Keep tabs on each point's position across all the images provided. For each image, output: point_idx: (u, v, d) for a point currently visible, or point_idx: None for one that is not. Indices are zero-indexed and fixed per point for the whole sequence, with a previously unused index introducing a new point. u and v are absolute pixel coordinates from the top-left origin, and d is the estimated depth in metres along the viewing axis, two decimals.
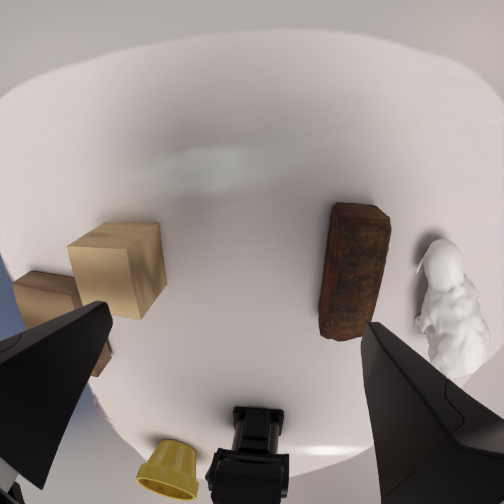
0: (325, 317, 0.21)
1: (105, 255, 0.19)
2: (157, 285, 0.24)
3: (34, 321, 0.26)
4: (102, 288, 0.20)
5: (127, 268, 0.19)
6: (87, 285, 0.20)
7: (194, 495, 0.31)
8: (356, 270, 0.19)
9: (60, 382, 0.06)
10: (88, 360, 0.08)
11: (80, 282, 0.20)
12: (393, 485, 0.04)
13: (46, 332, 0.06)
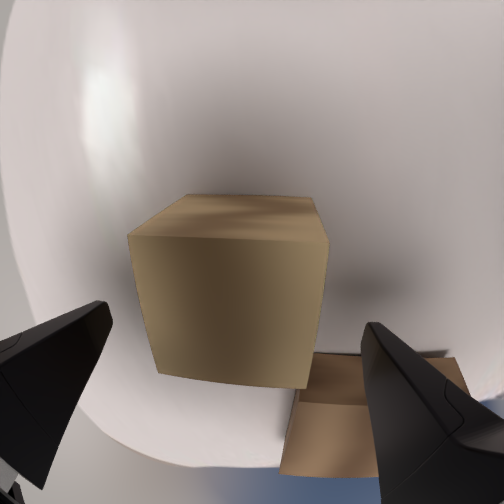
0: None
1: (150, 291, 0.09)
2: (292, 206, 0.11)
3: (344, 466, 0.16)
4: (240, 328, 0.09)
5: (170, 241, 0.08)
6: (238, 362, 0.10)
7: None
8: None
9: (60, 382, 0.06)
10: (88, 360, 0.08)
11: (233, 375, 0.10)
12: (393, 485, 0.04)
13: (46, 332, 0.06)
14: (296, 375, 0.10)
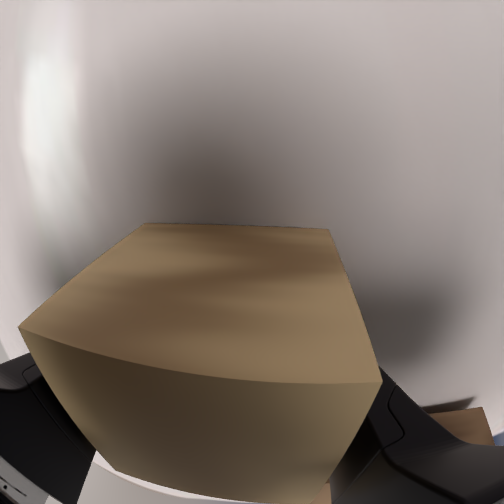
0: None
1: (72, 403, 0.04)
2: (301, 255, 0.07)
3: None
4: (211, 465, 0.05)
5: (73, 352, 0.04)
6: (215, 485, 0.05)
7: None
8: None
9: None
10: None
11: (210, 492, 0.06)
12: (339, 492, 0.05)
13: None
14: (297, 497, 0.05)
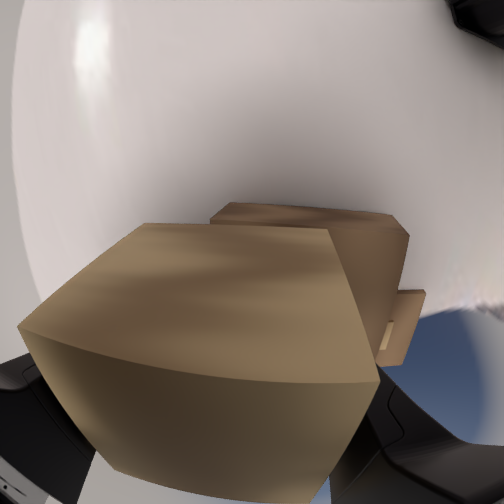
0: None
1: (72, 403, 0.04)
2: (299, 254, 0.07)
3: None
4: (210, 464, 0.05)
5: (72, 352, 0.04)
6: (213, 485, 0.05)
7: None
8: None
9: None
10: None
11: (209, 492, 0.06)
12: (339, 493, 0.05)
13: None
14: (296, 497, 0.05)
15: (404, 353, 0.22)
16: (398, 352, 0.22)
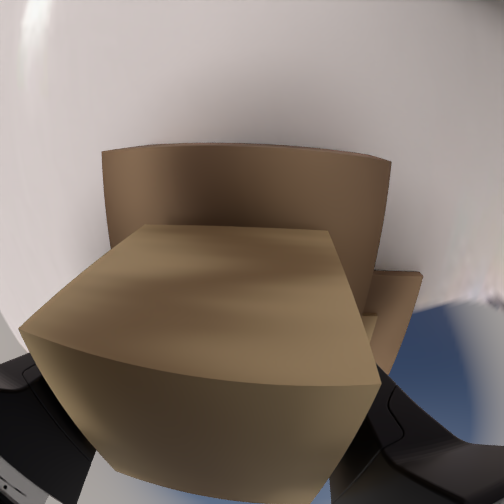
0: None
1: (73, 405, 0.04)
2: (300, 256, 0.07)
3: None
4: (211, 466, 0.05)
5: (73, 355, 0.04)
6: (214, 486, 0.05)
7: None
8: None
9: None
10: None
11: (210, 493, 0.06)
12: (339, 492, 0.05)
13: None
14: (296, 498, 0.05)
15: (392, 359, 0.17)
16: (384, 358, 0.17)
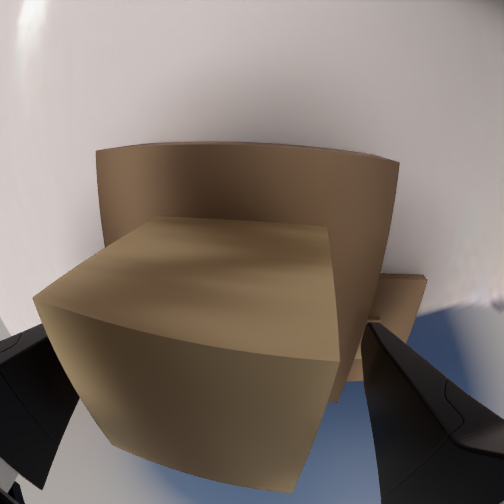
0: None
1: (75, 371, 0.05)
2: (293, 248, 0.07)
3: None
4: (194, 438, 0.05)
5: (77, 319, 0.04)
6: (199, 463, 0.06)
7: None
8: None
9: (60, 382, 0.06)
10: None
11: (197, 471, 0.06)
12: (393, 485, 0.04)
13: None
14: (278, 483, 0.06)
15: None
16: None
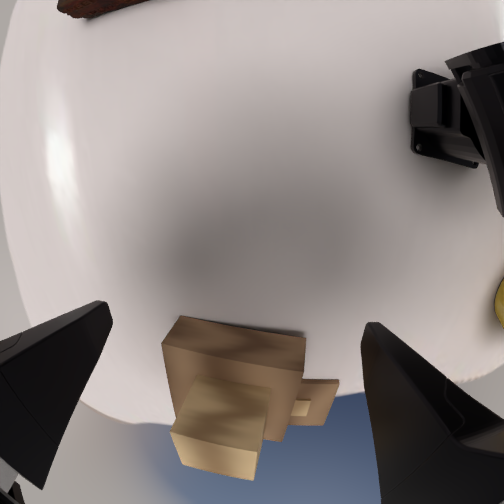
0: None
1: (181, 446, 0.16)
2: (254, 406, 0.18)
3: None
4: (221, 462, 0.16)
5: (190, 438, 0.16)
6: (221, 469, 0.17)
7: None
8: None
9: (60, 382, 0.06)
10: (88, 360, 0.08)
11: (219, 471, 0.17)
12: (393, 485, 0.04)
13: (46, 332, 0.06)
14: (247, 476, 0.17)
15: (324, 418, 0.28)
16: (318, 417, 0.28)
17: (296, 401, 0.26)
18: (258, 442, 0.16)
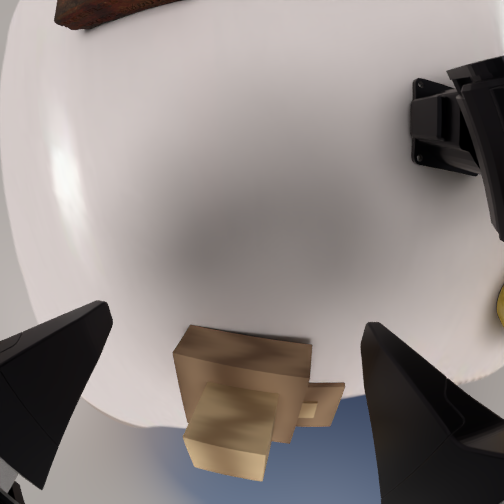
0: None
1: (193, 450, 0.17)
2: (262, 411, 0.19)
3: None
4: (231, 464, 0.17)
5: (202, 443, 0.16)
6: (231, 471, 0.18)
7: None
8: None
9: (60, 382, 0.06)
10: (88, 360, 0.08)
11: (229, 473, 0.18)
12: (393, 485, 0.04)
13: (46, 332, 0.06)
14: (257, 477, 0.18)
15: (331, 420, 0.28)
16: (325, 419, 0.28)
17: (303, 404, 0.27)
18: (266, 446, 0.16)
